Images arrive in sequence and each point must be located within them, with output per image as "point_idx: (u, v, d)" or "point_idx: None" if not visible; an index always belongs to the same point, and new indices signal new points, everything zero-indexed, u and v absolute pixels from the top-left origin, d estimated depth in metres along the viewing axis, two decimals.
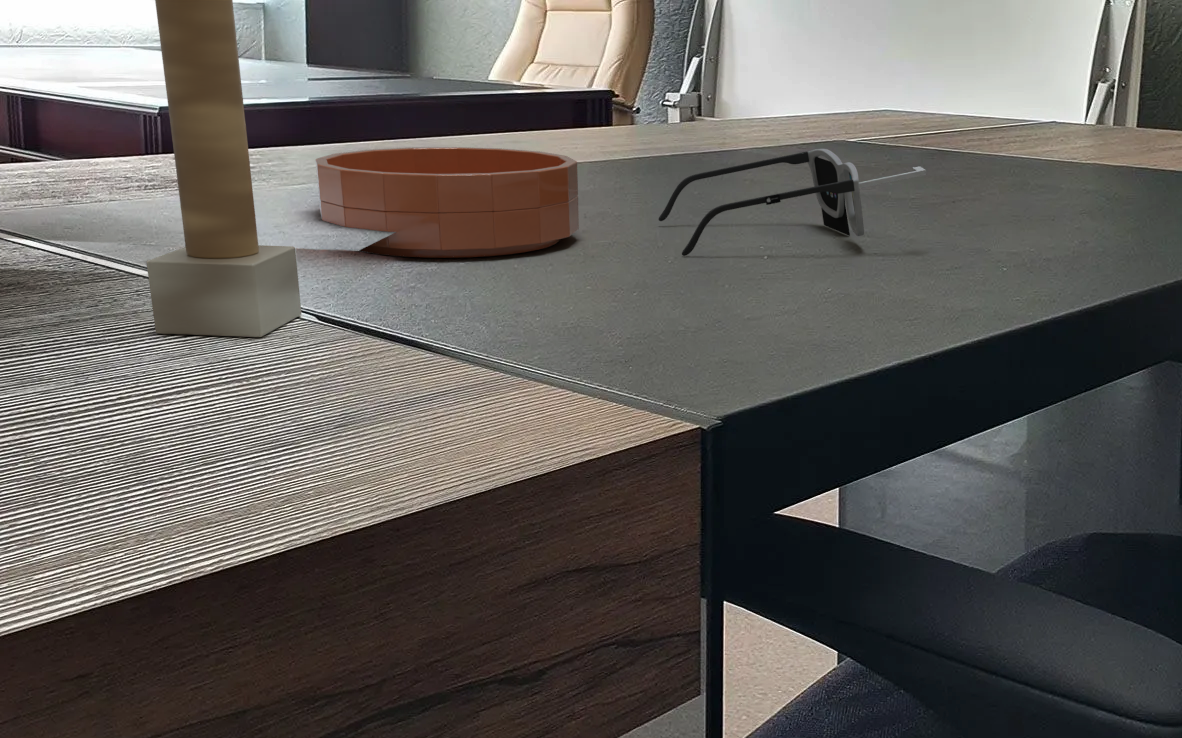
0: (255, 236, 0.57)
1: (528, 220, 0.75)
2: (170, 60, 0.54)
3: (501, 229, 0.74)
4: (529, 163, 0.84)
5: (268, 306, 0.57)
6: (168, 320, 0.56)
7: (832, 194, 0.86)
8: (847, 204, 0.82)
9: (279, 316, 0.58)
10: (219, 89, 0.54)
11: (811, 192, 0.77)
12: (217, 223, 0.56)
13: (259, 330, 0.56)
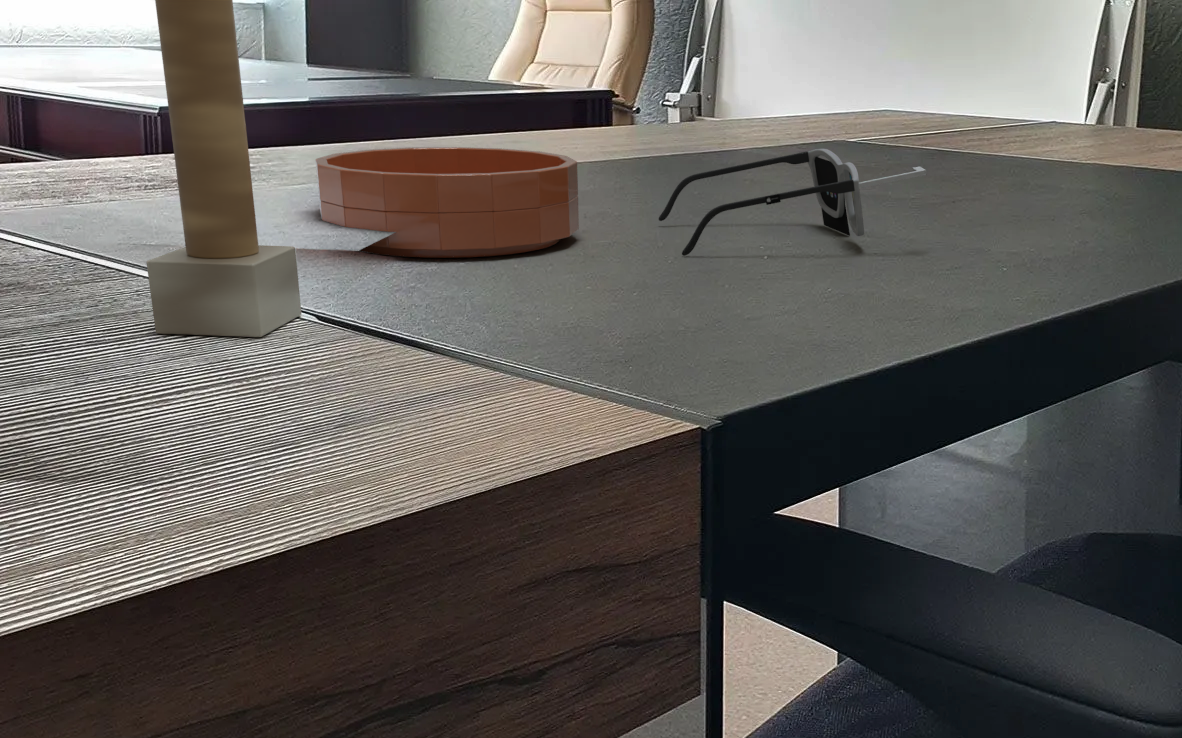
0: (255, 236, 0.57)
1: (528, 220, 0.75)
2: (170, 60, 0.54)
3: (501, 229, 0.74)
4: (529, 163, 0.84)
5: (268, 306, 0.57)
6: (168, 320, 0.56)
7: (832, 194, 0.86)
8: (847, 204, 0.82)
9: (279, 316, 0.58)
10: (219, 89, 0.54)
11: (811, 192, 0.77)
12: (217, 223, 0.56)
13: (259, 330, 0.56)
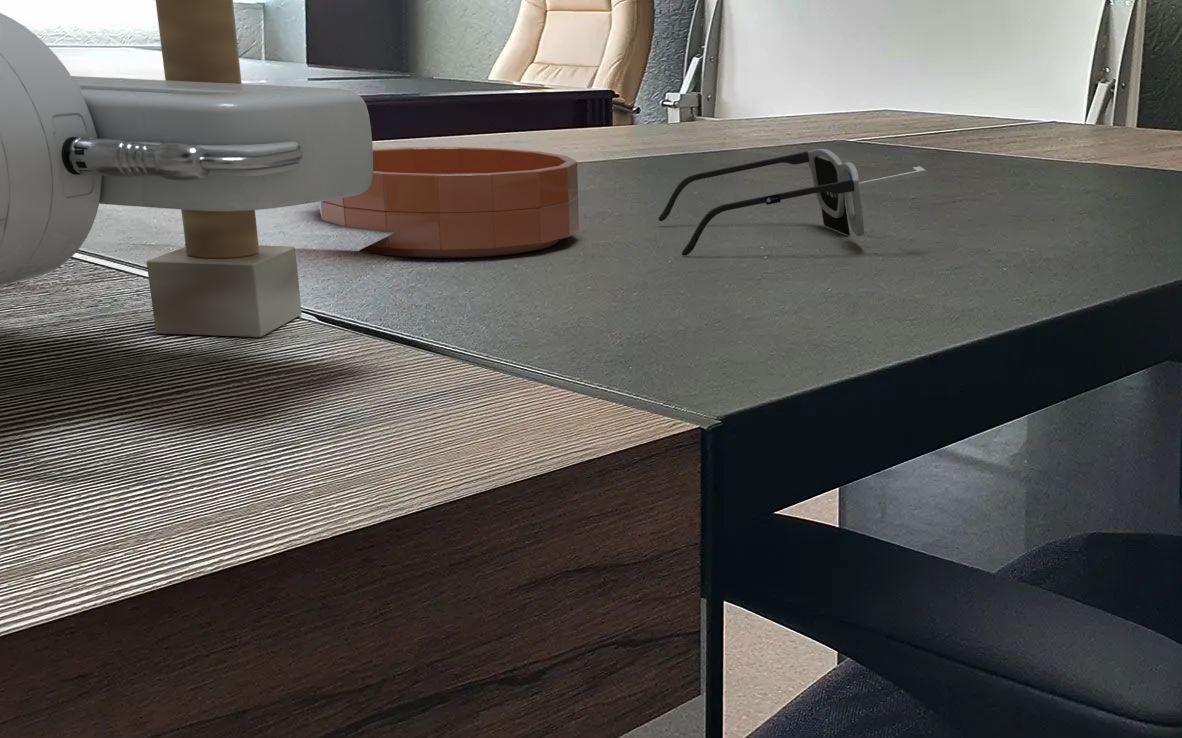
0: (255, 236, 0.57)
1: (528, 220, 0.75)
2: (170, 60, 0.54)
3: (501, 229, 0.74)
4: (529, 163, 0.84)
5: (268, 306, 0.57)
6: (168, 320, 0.56)
7: (832, 194, 0.86)
8: (847, 204, 0.82)
9: (279, 316, 0.58)
10: None
11: (811, 192, 0.77)
12: (218, 223, 0.56)
13: (259, 330, 0.56)
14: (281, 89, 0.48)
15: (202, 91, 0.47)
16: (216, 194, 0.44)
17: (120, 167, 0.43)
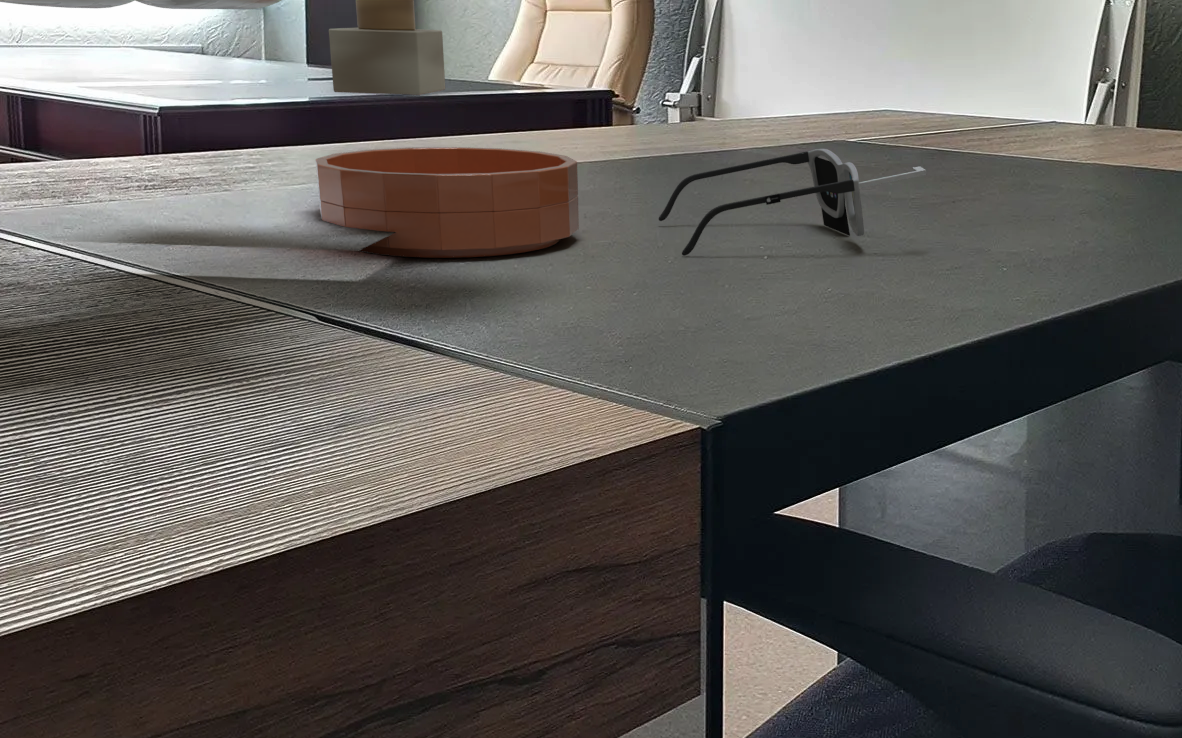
0: (413, 15, 0.70)
1: (528, 220, 0.75)
2: None
3: (501, 229, 0.74)
4: (529, 163, 0.84)
5: (424, 71, 0.69)
6: (344, 80, 0.69)
7: (832, 194, 0.86)
8: (847, 204, 0.82)
9: (431, 83, 0.71)
10: None
11: (811, 192, 0.77)
12: None
13: (419, 88, 0.69)
14: None
15: None
16: None
17: None
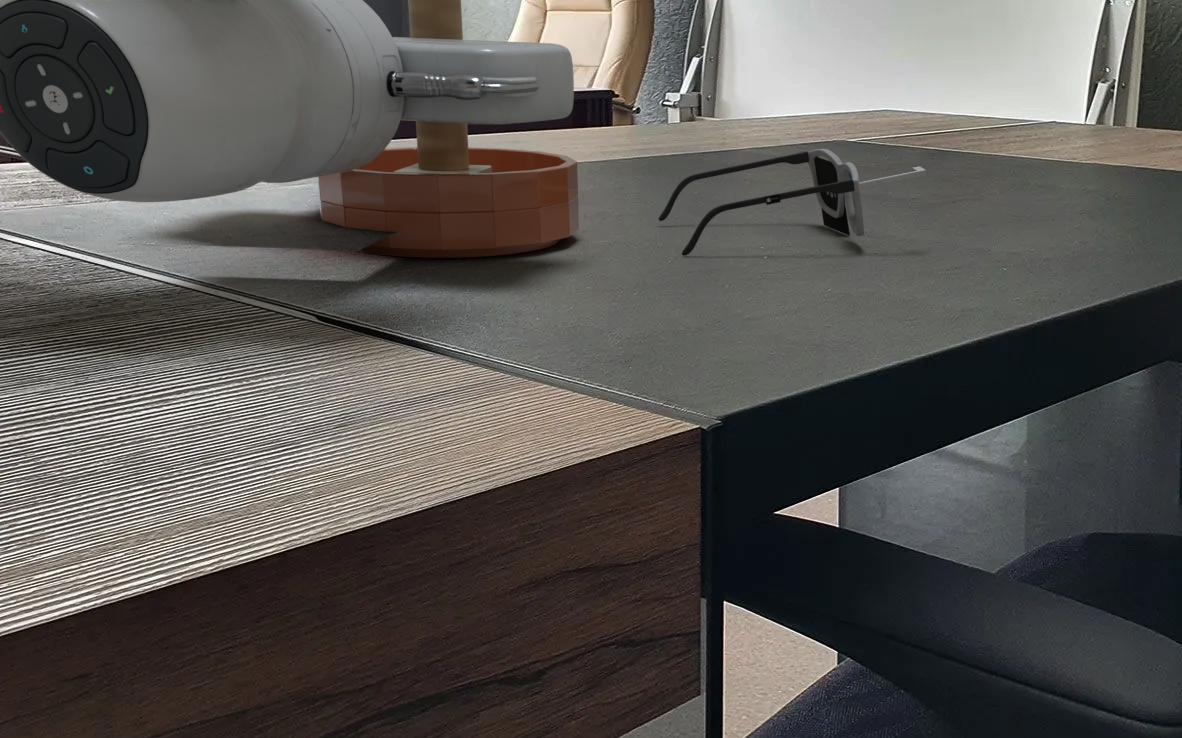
0: (468, 155, 0.79)
1: (528, 220, 0.75)
2: (417, 25, 0.75)
3: (501, 229, 0.74)
4: (529, 163, 0.84)
5: None
6: None
7: (832, 194, 0.86)
8: (847, 204, 0.82)
9: None
10: None
11: (811, 192, 0.77)
12: (445, 144, 0.77)
13: None
14: (514, 43, 0.69)
15: (464, 43, 0.68)
16: (484, 110, 0.65)
17: (426, 91, 0.64)
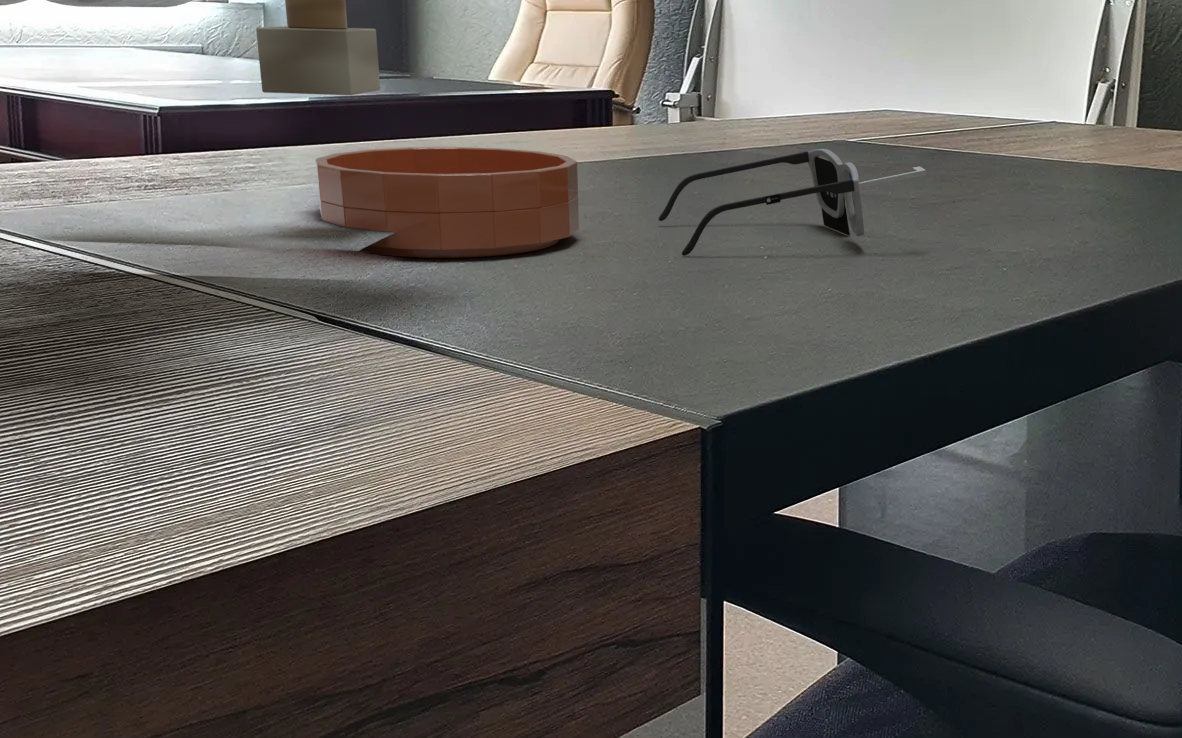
0: (345, 13, 0.68)
1: (528, 220, 0.75)
2: None
3: (501, 229, 0.74)
4: (529, 163, 0.84)
5: (356, 71, 0.68)
6: (273, 80, 0.67)
7: (832, 194, 0.86)
8: (847, 204, 0.82)
9: (364, 83, 0.69)
10: None
11: (811, 192, 0.77)
12: None
13: (349, 89, 0.67)
14: None
15: None
16: None
17: None
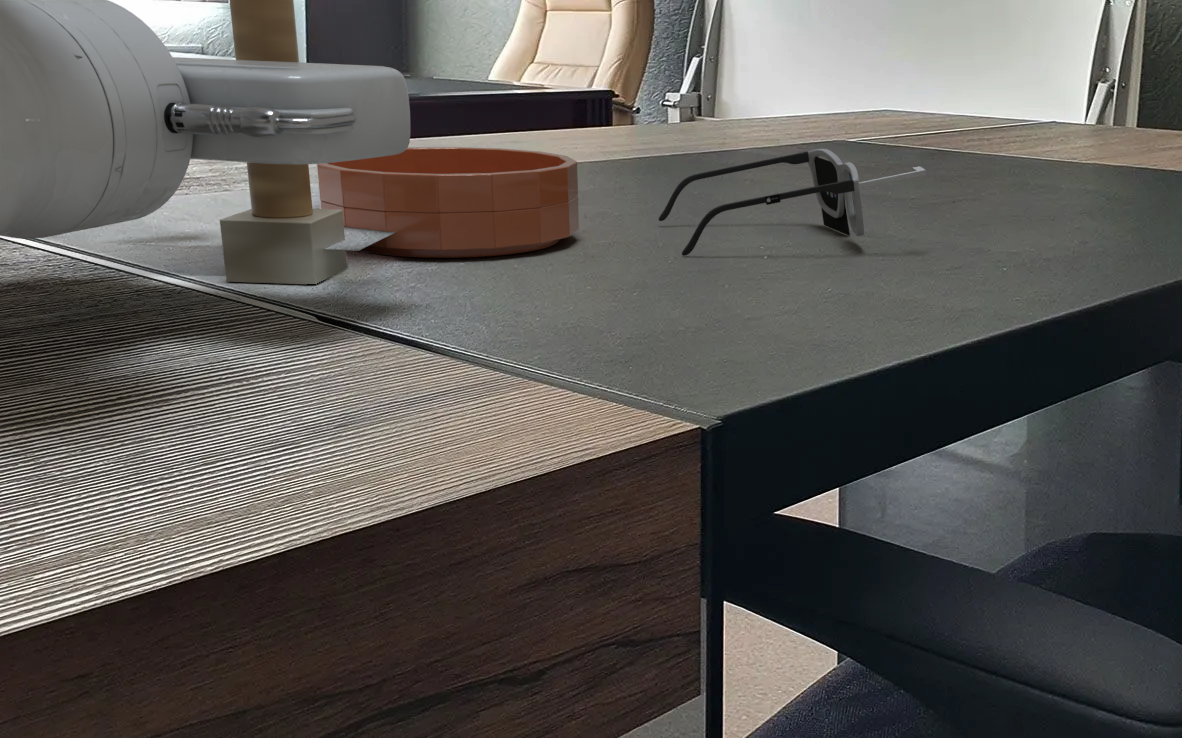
0: (310, 200, 0.68)
1: (528, 220, 0.75)
2: (242, 50, 0.64)
3: (501, 229, 0.74)
4: (529, 163, 0.84)
5: (321, 259, 0.67)
6: (237, 270, 0.67)
7: (832, 194, 0.86)
8: (847, 204, 0.82)
9: (330, 268, 0.68)
10: None
11: (811, 192, 0.77)
12: (279, 187, 0.66)
13: (314, 278, 0.67)
14: (336, 66, 0.58)
15: (272, 67, 0.57)
16: (286, 149, 0.55)
17: (211, 126, 0.53)
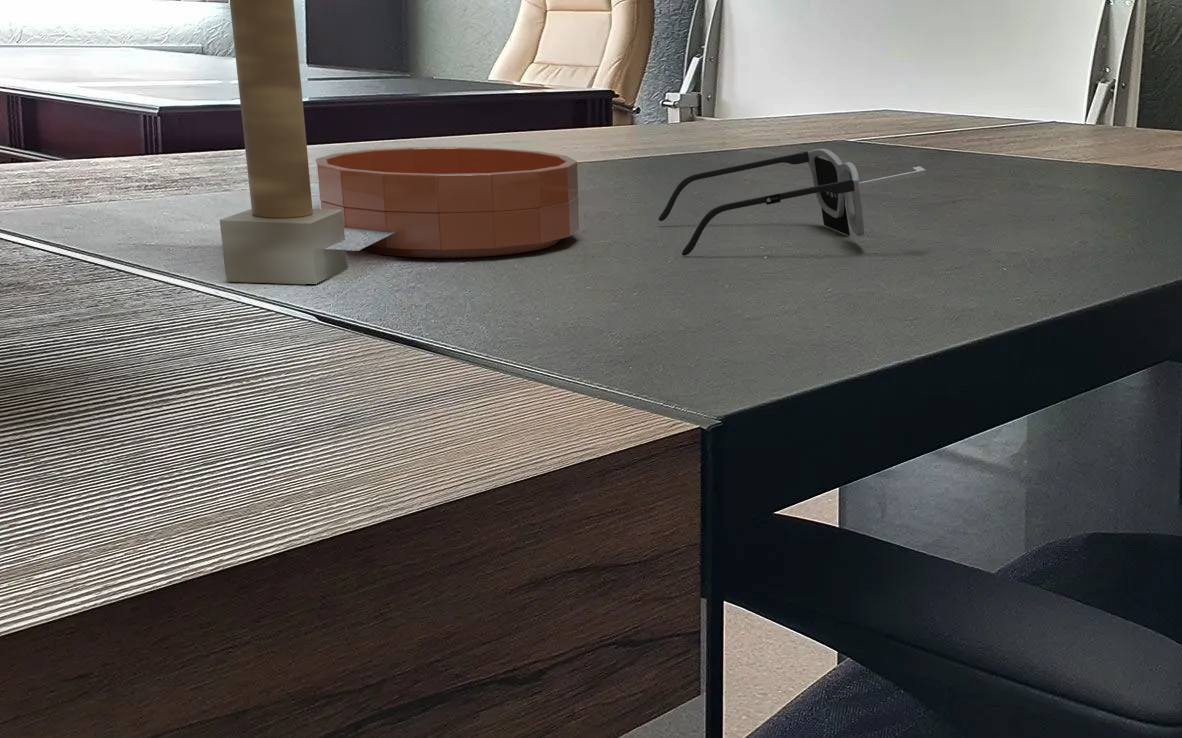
0: (310, 200, 0.68)
1: (528, 220, 0.75)
2: (242, 50, 0.64)
3: (501, 229, 0.74)
4: (529, 163, 0.84)
5: (321, 259, 0.67)
6: (237, 270, 0.67)
7: (832, 194, 0.86)
8: (847, 204, 0.82)
9: (330, 268, 0.69)
10: (282, 75, 0.65)
11: (811, 192, 0.77)
12: (279, 187, 0.66)
13: (314, 278, 0.67)
14: None
15: None
16: None
17: None
